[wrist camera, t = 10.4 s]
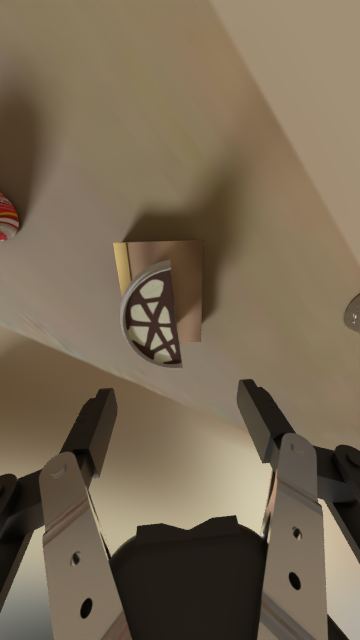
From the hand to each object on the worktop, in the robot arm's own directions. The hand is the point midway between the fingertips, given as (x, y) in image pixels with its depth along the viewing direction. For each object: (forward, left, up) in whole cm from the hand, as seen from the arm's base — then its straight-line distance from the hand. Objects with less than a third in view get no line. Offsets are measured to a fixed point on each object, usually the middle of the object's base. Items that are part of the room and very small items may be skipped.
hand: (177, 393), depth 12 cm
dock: (+1, -1, -23) cm, 23 cm away
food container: (+2, -1, -18) cm, 18 cm away
